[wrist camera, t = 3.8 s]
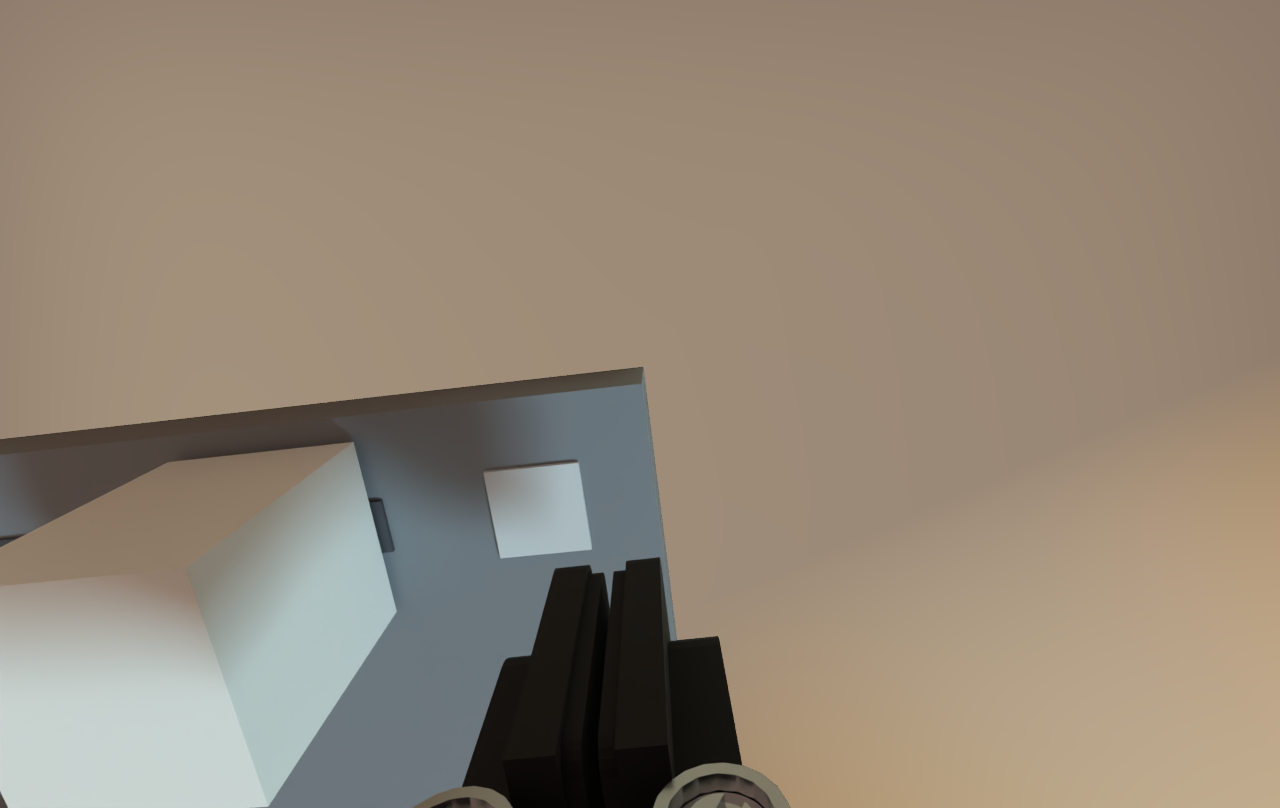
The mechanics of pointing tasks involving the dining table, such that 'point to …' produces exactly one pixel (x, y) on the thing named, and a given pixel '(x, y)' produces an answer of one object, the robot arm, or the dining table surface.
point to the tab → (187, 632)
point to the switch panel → (416, 544)
